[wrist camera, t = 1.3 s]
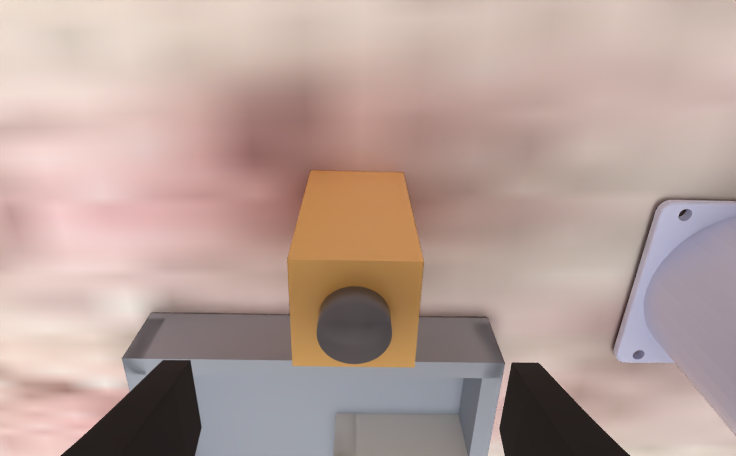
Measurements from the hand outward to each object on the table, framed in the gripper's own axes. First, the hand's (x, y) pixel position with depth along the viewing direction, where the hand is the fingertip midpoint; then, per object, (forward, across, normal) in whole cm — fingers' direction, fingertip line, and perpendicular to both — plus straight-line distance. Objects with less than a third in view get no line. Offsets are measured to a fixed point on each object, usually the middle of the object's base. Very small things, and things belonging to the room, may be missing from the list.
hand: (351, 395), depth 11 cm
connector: (+10, 0, 0) cm, 10 cm away
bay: (+10, +2, +14) cm, 17 cm away
